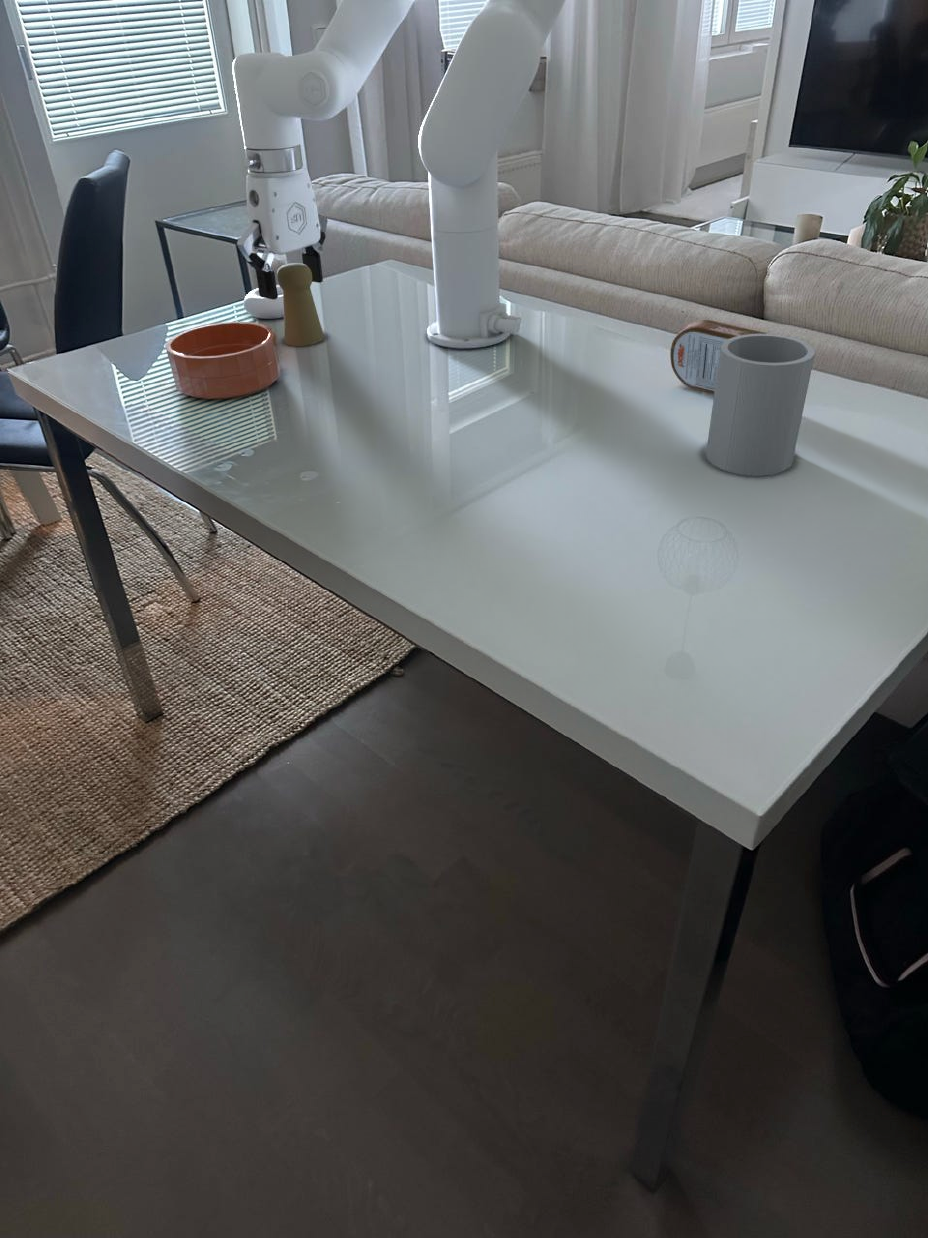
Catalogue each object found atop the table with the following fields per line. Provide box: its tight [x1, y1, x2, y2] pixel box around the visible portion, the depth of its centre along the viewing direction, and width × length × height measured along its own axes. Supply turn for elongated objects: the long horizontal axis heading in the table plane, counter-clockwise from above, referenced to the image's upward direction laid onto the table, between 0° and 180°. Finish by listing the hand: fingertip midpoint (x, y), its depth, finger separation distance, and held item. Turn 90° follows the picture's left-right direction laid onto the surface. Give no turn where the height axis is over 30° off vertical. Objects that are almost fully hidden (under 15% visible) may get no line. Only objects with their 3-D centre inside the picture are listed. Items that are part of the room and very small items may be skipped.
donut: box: [243, 285, 284, 320], centre depth 142 cm, size 10×4×10 cm
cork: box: [276, 262, 325, 347], centre depth 128 cm, size 6×6×11 cm
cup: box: [705, 333, 816, 477], centre depth 90 cm, size 9×9×12 cm
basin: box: [165, 321, 282, 400], centre depth 117 cm, size 14×14×6 cm
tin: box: [669, 319, 768, 395], centre depth 105 cm, size 15×3×8 cm, turn 47°
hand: (292, 289), depth 127 cm, fingers open, 9 cm apart
